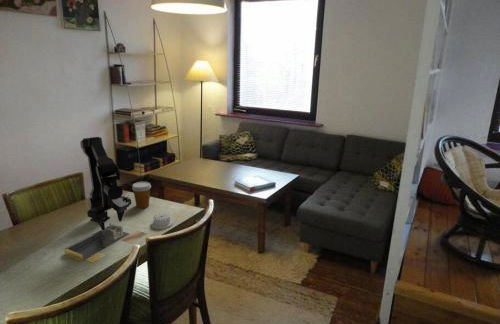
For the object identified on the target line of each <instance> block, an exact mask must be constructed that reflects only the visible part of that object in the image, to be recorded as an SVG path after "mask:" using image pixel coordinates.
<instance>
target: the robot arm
mask: <svg viewBox="0 0 500 324" xmlns="http://www.w3.org/2000/svg"><path fill="white" fill-rule="evenodd" d="M80 148H81V150H82V153H83V154H84V155H85V156H86V157H87V160H88V161H87V162H88V167H89V174H90V180H91V187H92V188H91V190H90V192H89V199H88V202H87V205H88V210H87V212H86V213H87V217H88V218H90V221H92V222H94V223H97V225H98V226H99V228H100V230H105V227H106V226H105V221H107V220H110V219H111V216H109V214H108V211H110V210H114V211H116V215H117V219H118V221H119V222H122V221H123V216H124V214H125V211H127V210H128V208H129V207H130V206H131V205H132V199H131V198H130V197H129V196H124V195H123V194H124V192H123V187H121V186H120V185H119V184H118V182H117V181H119V180H121V172H120V169H119V166H118V164H117V163H116V162H115V161H114V159H113V158H111V157H109V156H108V154H107V152H106V150H105V147H104V144H103V139H102V137H101V136H93V137H92V136H91V137H87V138H82V139H81V141H80Z"/></svg>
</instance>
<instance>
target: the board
mask: <svg viewBox="0 0 500 324" xmlns="http://www.w3.org/2000/svg"><path fill="white" fill-rule="evenodd" d="M147 235H148V233H147V232H144V231H140V230H136V231H134V232H132V233H129V235H127V236H126V237H124V238H122V239H120V241H121V242H124V243H129V244H132V243H135V242H137V241H138V240H139V239H142V238H143V237H144V236H147Z"/></svg>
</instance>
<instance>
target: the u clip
mask: <svg viewBox="0 0 500 324" xmlns="http://www.w3.org/2000/svg"><path fill="white" fill-rule="evenodd" d="M108 226H109V228H106V226H105V230H102V229H101V230H102V237H104V238H106V239H109V240H112V241H116V240H117V239H119V238H121V237H123V232H124V230H123V229H124V227H123V226H121V225H117V224H114V223H108Z"/></svg>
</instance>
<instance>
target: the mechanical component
mask: <svg viewBox="0 0 500 324" xmlns="http://www.w3.org/2000/svg"><path fill="white" fill-rule="evenodd" d="M173 224H174V220H173V219H171V216H170V214H168V213H163V212H162V213H158V214H155V215H154V216H153V220H152V221H151V223H150V226H151V228H153V229H156V230H164V229H169V228H171V227H172V226H173Z"/></svg>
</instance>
